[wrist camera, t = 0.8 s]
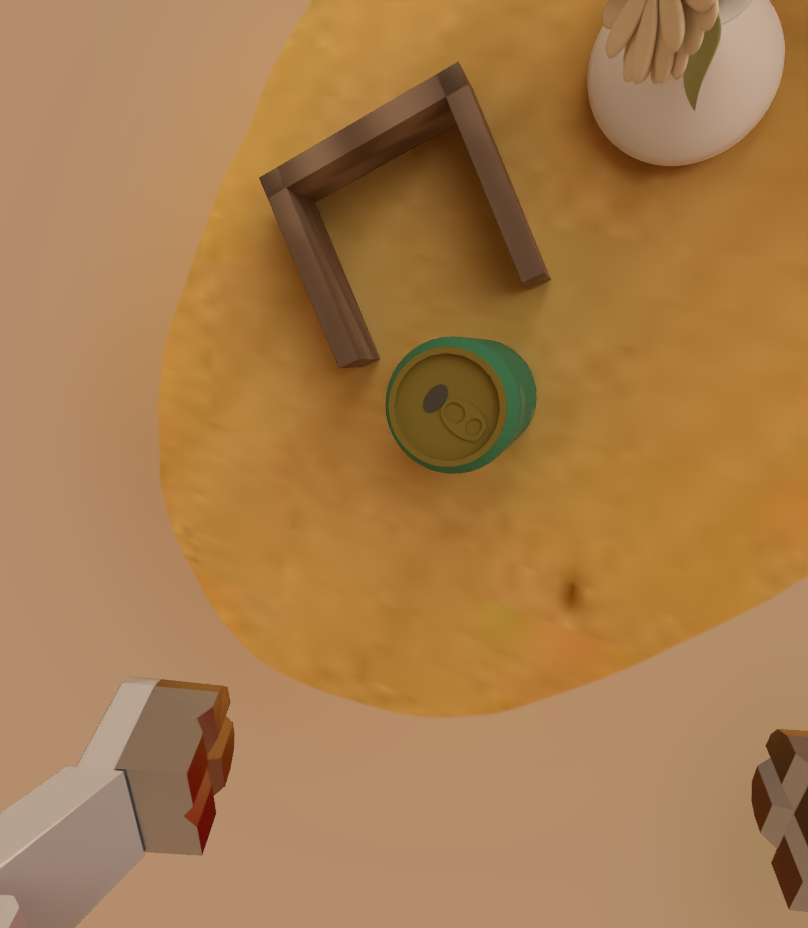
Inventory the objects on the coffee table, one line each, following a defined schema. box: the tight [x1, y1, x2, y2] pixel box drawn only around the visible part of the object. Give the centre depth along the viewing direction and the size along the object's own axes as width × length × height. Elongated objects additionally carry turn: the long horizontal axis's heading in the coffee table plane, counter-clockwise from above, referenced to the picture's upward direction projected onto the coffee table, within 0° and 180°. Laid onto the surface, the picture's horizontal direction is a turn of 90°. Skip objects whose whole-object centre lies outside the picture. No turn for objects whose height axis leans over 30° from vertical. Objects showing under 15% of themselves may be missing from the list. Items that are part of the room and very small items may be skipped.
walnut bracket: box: [259, 62, 551, 368], centre depth 50 cm, size 15×14×5 cm
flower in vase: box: [587, 0, 785, 166], centre depth 35 cm, size 13×11×25 cm
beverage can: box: [386, 337, 536, 473], centre depth 47 cm, size 8×8×12 cm
